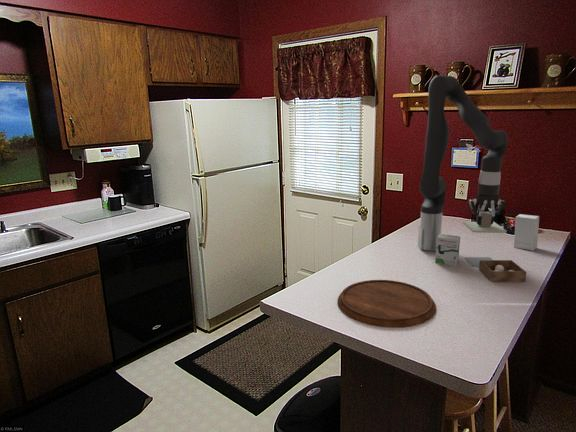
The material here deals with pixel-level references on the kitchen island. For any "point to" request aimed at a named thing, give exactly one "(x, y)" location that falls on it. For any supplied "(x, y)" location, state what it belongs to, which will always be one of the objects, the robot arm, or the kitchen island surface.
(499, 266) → the bead
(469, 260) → the felt mat
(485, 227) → the lid
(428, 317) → the cutting board
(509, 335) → the kitchen island surface
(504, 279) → the box
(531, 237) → the skincare box
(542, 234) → the kitchen island surface
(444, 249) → the ink box
